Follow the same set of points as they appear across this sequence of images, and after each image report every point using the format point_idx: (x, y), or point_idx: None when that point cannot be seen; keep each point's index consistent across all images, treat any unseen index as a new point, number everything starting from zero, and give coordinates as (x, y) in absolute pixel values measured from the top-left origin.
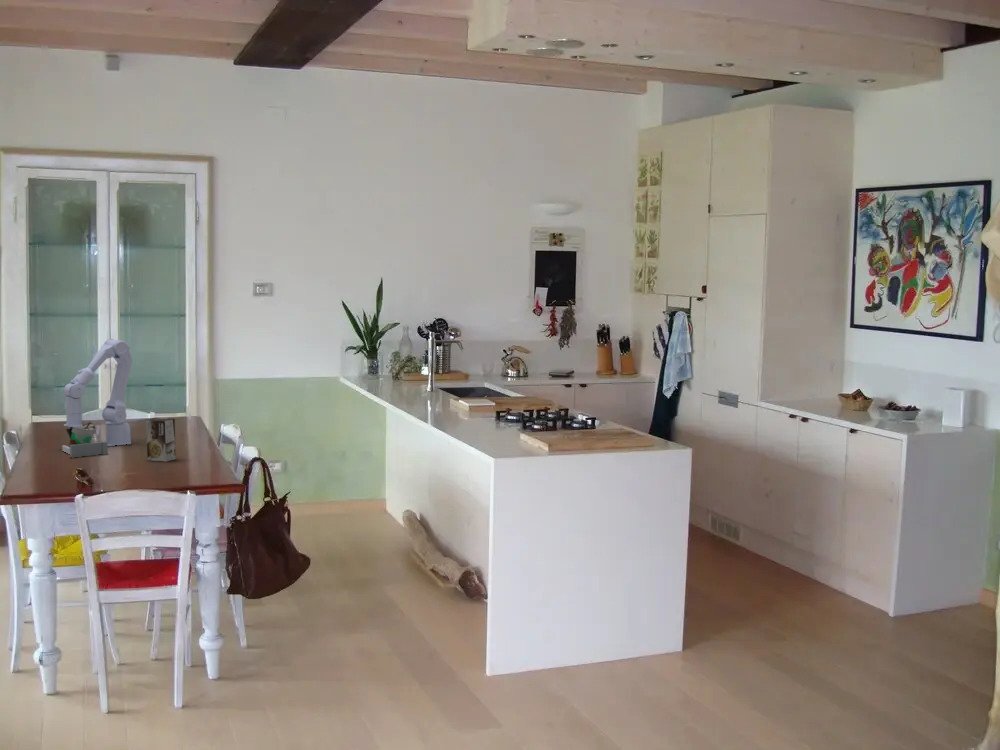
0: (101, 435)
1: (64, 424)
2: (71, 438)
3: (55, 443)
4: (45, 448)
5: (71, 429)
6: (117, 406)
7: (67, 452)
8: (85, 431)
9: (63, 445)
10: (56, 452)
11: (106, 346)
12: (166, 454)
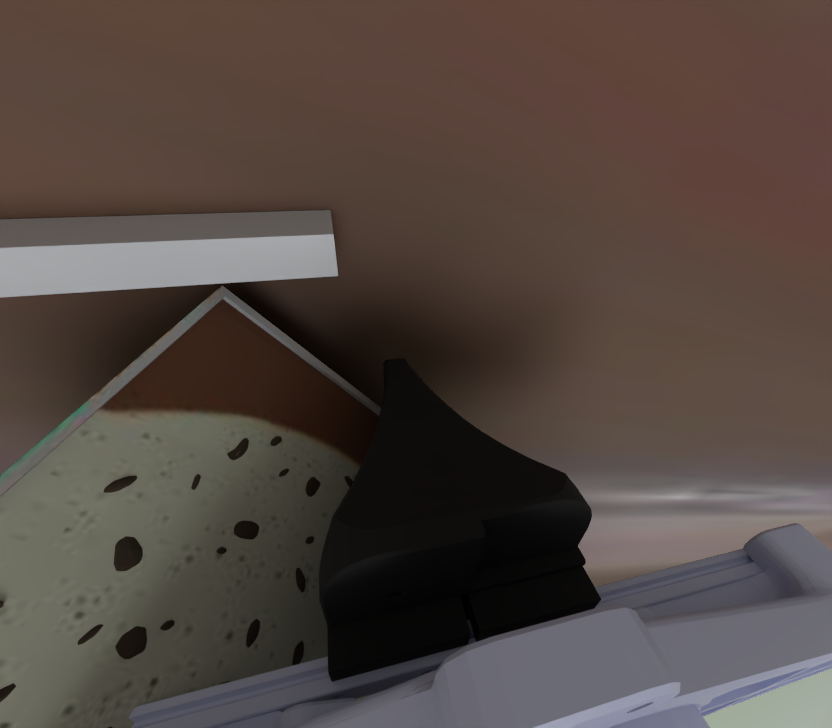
0: (715, 515)
1: (583, 724)
2: (45, 440)
3: (804, 275)
4: (707, 75)
5: (406, 591)
6: None
7: (54, 224)
8: None
9: (326, 252)
10: (305, 104)
11: None
12: None
